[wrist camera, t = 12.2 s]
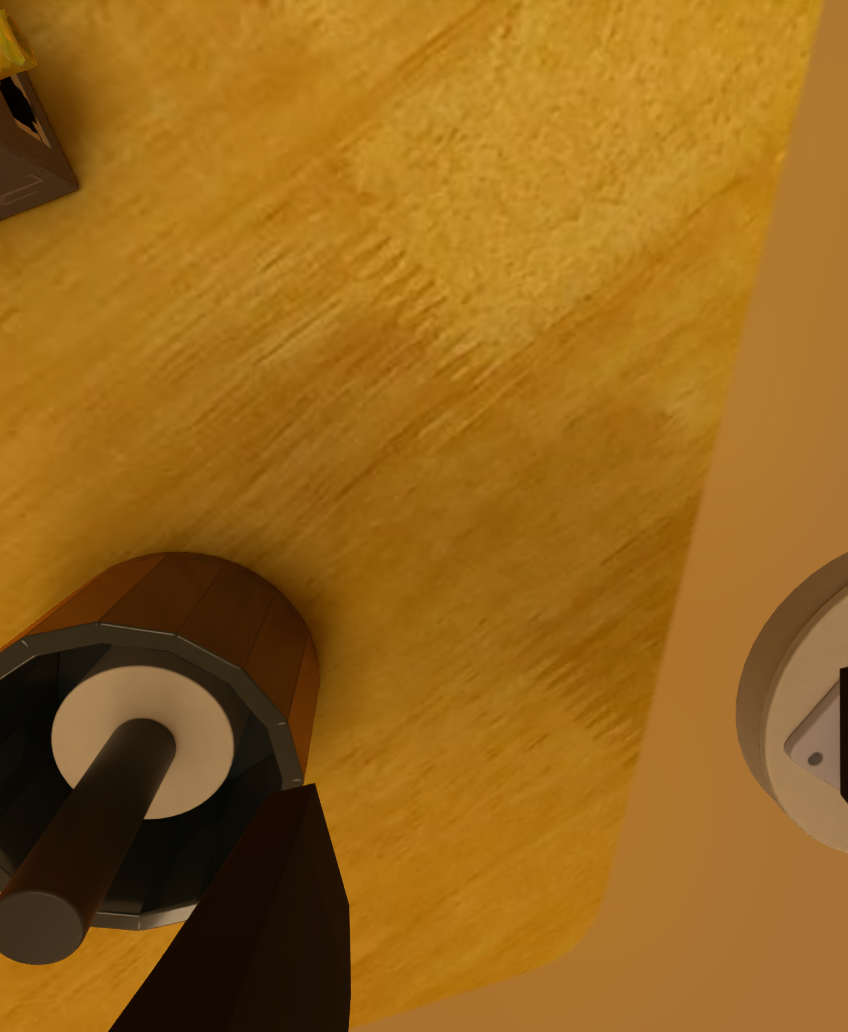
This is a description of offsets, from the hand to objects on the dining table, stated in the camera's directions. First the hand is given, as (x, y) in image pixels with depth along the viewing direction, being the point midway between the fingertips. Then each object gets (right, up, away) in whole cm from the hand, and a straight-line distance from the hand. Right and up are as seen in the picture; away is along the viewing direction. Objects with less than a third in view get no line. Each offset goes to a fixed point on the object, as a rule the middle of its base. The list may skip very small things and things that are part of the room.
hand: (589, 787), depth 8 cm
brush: (-9, -1, +10) cm, 14 cm away
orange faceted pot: (-9, -1, +10) cm, 14 cm away
